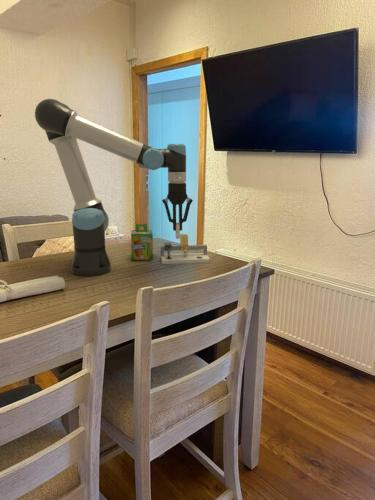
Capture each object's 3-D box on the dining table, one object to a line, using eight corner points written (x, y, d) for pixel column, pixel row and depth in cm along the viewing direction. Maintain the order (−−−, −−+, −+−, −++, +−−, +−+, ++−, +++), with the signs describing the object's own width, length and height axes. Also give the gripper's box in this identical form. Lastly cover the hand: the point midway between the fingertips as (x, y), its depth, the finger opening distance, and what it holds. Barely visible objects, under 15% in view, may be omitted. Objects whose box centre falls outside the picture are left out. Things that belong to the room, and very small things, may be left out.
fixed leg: (165, 258, 160) (165, 246, 159) (164, 254, 167) (163, 242, 166) (172, 258, 160) (172, 246, 159) (170, 253, 167) (170, 242, 166)
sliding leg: (182, 257, 161) (182, 238, 159) (180, 252, 168) (180, 234, 166) (189, 257, 161) (189, 237, 159) (186, 252, 168) (186, 234, 166)
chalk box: (131, 261, 162) (130, 226, 159) (131, 255, 171) (130, 222, 168) (153, 260, 164) (152, 226, 160) (152, 254, 172) (151, 222, 169)
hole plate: (162, 264, 158) (162, 251, 156) (160, 257, 167) (160, 245, 166) (209, 262, 160) (210, 249, 159) (205, 256, 170) (205, 244, 169)
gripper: (161, 183, 154) (163, 240, 160) (194, 182, 155) (194, 239, 161) (160, 181, 161) (161, 236, 167) (191, 181, 162) (191, 235, 168)
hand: (177, 237), depth 164 cm, fingers closed
